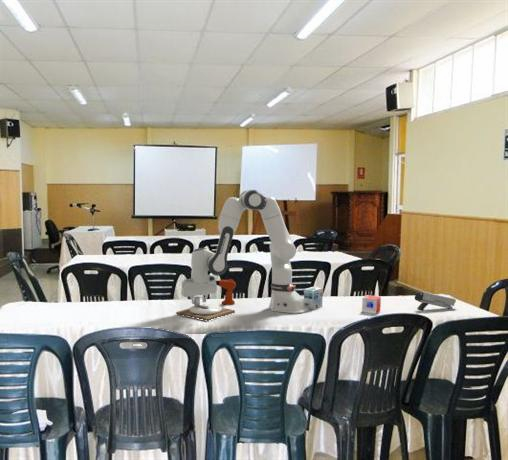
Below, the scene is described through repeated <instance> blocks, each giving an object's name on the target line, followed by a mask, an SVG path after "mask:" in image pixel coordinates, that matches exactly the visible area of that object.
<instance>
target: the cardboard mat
mask: <svg viewBox="0 0 508 460" xmlns="http://www.w3.org/2000/svg"><path fill="white" fill-rule="evenodd" d="M202 305H206V304H205V303H203V304H202ZM221 308H222V311H221V312H219V313H216V314H208V315H201V314H194V313H191V312H190V307H189V308H186V309H183V310H179V311H176V312H175V315H176V314H177V315H176V316H179V315H184V316H190V317H194V318H199V319H203V320H207V321H208V322H210V321H209V320H211V319H214V318H217V317H221V316H224V317H226V316H225V315H227V316H230V315H233V314H235V312H236V311H235V309H232V308H231V309H230V308H225V307H221ZM232 313H233V314H232ZM229 314H230V315H229ZM184 316H183V317H184ZM221 318H222V317H221ZM203 320H202V321H203ZM214 320H215V319H214ZM207 321H206V322H207ZM211 321H212V320H211Z"/></svg>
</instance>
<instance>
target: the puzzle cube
mask: <svg viewBox="0 0 508 460" xmlns="http://www.w3.org/2000/svg"><path fill="white" fill-rule="evenodd" d="M381 298H382V297H381V296H378V295H369V294H367V295H364V296H363V297H362V301H361V302H362V303H361V306H362V307H361V312H364V313H370V314H377V313H379V312H380V311H381V306H382V305H381V301H382V299H381Z"/></svg>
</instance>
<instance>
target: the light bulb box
mask: <svg viewBox="0 0 508 460" xmlns="http://www.w3.org/2000/svg"><path fill="white" fill-rule="evenodd" d="M323 291H324V290H323V288H322V287H316V286H311V287H307V288H304V289H303V299H304V304H305V307H308V308H309V310H316V309H318V308H322V307H323Z"/></svg>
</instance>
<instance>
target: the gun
mask: <svg viewBox="0 0 508 460" xmlns="http://www.w3.org/2000/svg"><path fill="white" fill-rule="evenodd" d="M414 301H417V302H419V303H420V304H419V306H417V310H420V311H424V310H425V308H426V307H427V306H429V305H431V306H436V307H437V306H438V307H440V308H441V307H442V308H446V309H450V310H451V309H453V307H455V303H456V301H457V300H456V298H453V297H448V296H444V295H439V294H434V293H430V292H426V291H421V292H418V291H417V292H416V293H415V295H414Z"/></svg>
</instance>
